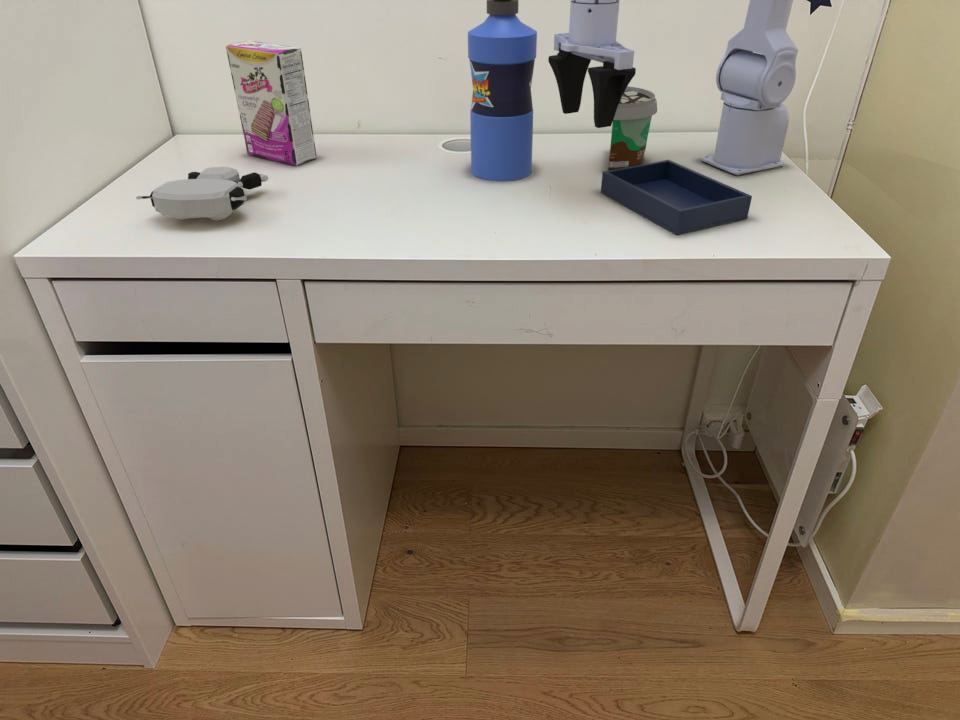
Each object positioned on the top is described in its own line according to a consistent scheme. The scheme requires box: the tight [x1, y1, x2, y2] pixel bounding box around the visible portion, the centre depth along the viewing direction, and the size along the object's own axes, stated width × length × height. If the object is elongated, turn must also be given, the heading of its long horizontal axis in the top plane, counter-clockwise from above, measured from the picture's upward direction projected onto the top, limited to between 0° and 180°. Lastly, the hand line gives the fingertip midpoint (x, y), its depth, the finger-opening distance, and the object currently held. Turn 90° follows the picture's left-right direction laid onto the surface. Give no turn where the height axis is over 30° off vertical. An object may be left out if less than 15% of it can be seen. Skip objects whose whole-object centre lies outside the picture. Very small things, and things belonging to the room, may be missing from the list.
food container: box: [607, 85, 658, 171], centre depth 103 cm, size 12×6×10 cm, turn 168°
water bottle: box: [467, 0, 538, 182], centre depth 96 cm, size 9×9×25 cm
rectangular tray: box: [600, 159, 753, 236], centre depth 90 cm, size 11×16×3 cm
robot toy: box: [135, 166, 269, 221], centre depth 90 cm, size 12×4×15 cm
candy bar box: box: [225, 40, 318, 167], centre depth 105 cm, size 11×5×16 cm, turn 58°
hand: (586, 119), depth 89 cm, fingers open, 7 cm apart
